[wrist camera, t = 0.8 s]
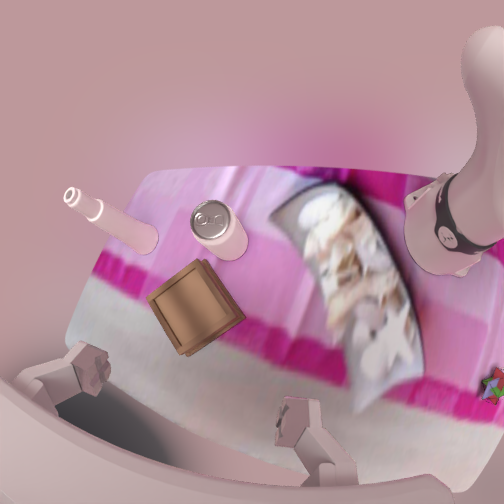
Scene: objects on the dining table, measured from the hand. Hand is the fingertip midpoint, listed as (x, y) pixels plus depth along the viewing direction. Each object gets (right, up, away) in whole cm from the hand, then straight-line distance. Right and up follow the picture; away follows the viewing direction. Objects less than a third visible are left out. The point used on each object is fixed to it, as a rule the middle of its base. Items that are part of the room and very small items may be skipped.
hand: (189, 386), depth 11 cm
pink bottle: (-18, +8, +40) cm, 45 cm away
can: (-1, +7, +37) cm, 38 cm away
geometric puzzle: (+49, -20, +23) cm, 58 cm away
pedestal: (-7, -4, +35) cm, 36 cm away
